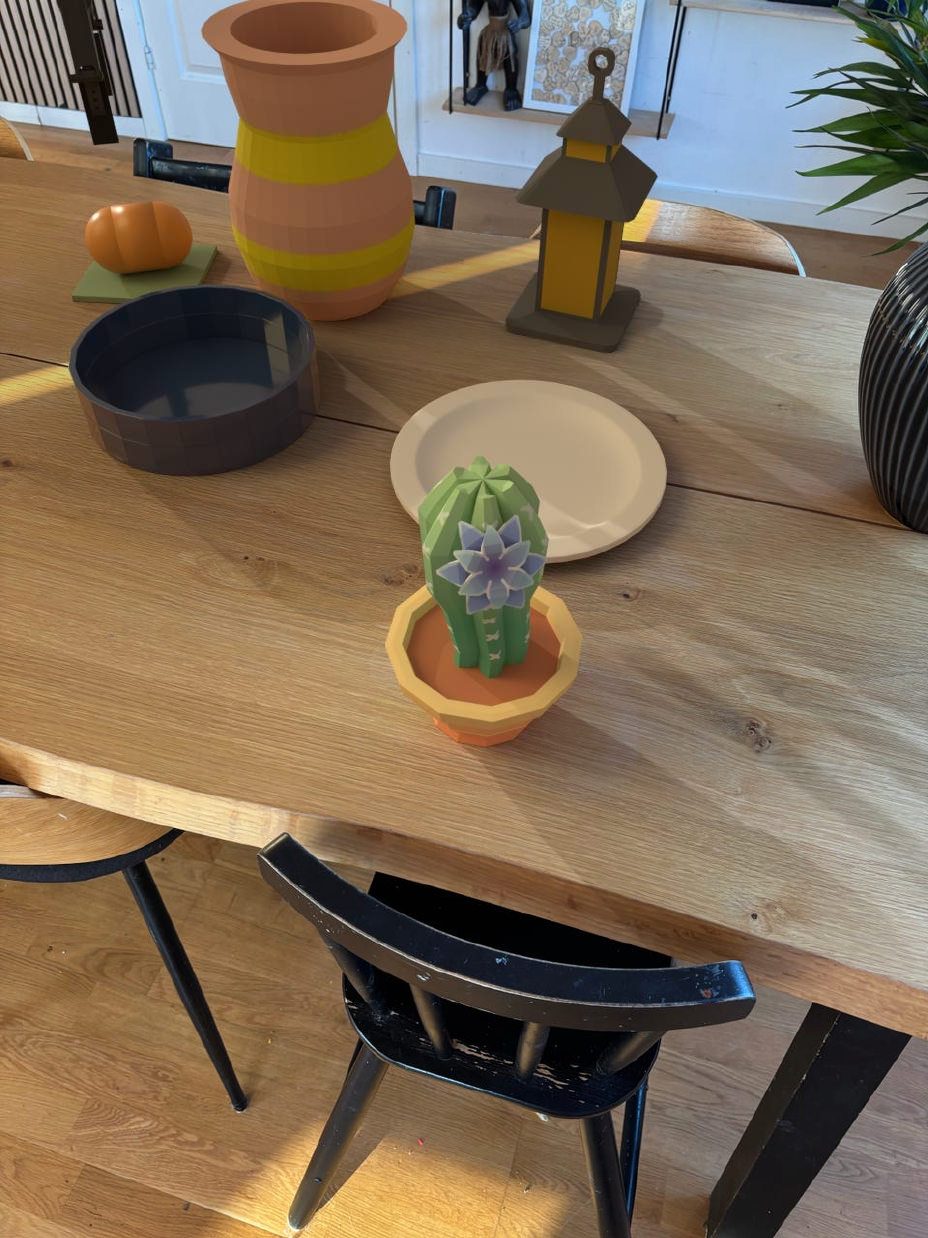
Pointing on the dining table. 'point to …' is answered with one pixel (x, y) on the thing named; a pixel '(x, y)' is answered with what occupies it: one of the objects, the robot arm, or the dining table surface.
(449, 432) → the plate
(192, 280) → the mat
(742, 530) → the dining table surface
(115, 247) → the orange capsule
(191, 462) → the bowl
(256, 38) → the vase
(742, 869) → the dining table surface
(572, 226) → the lantern
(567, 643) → the potted cactus
